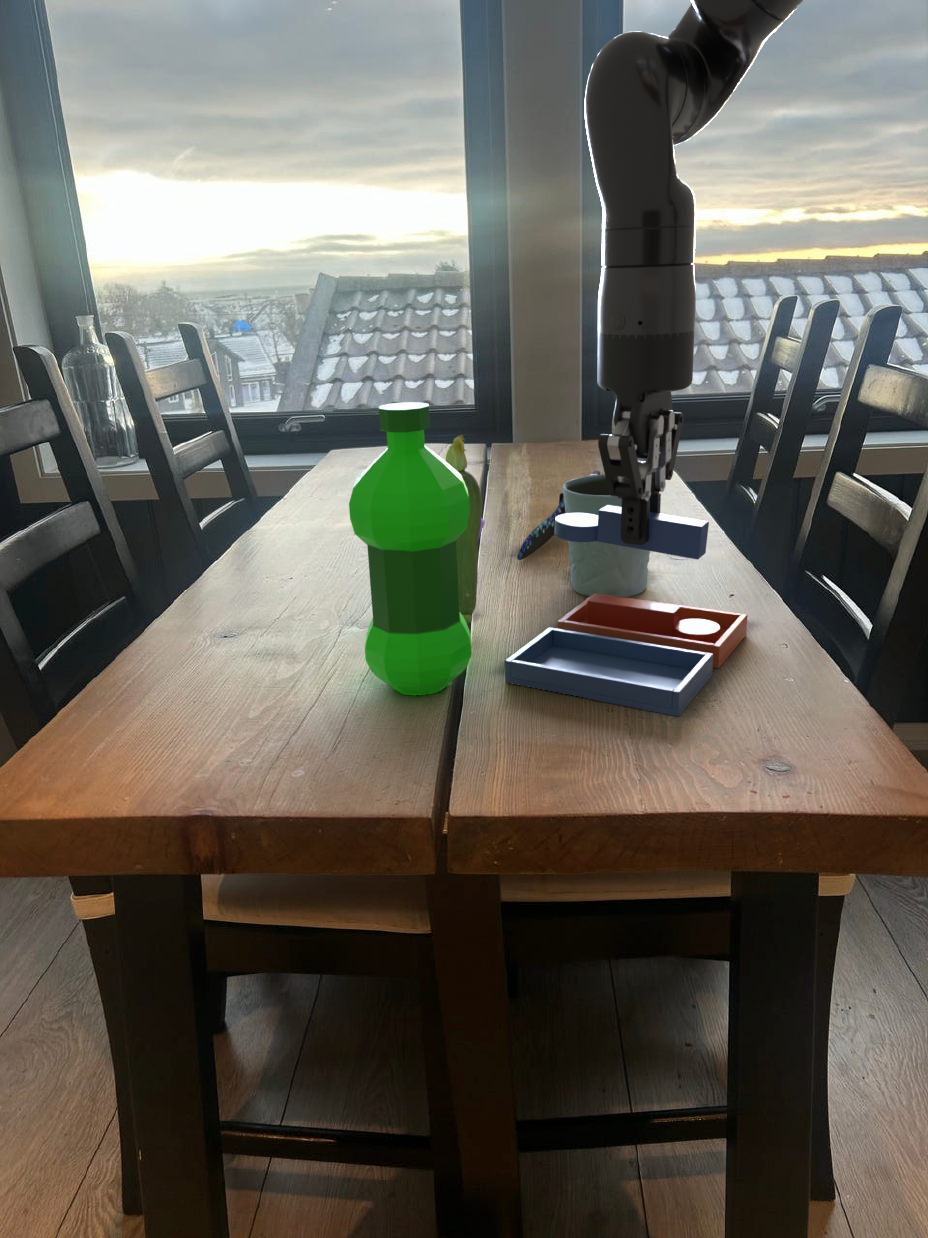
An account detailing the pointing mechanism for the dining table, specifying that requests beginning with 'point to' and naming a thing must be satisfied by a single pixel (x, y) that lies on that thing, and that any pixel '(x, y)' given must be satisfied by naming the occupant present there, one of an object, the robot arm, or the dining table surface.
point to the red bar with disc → (649, 619)
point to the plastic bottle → (412, 556)
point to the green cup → (602, 546)
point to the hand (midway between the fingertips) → (640, 538)
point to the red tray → (729, 636)
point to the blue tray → (611, 670)
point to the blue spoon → (663, 531)
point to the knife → (543, 530)
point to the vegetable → (467, 533)
